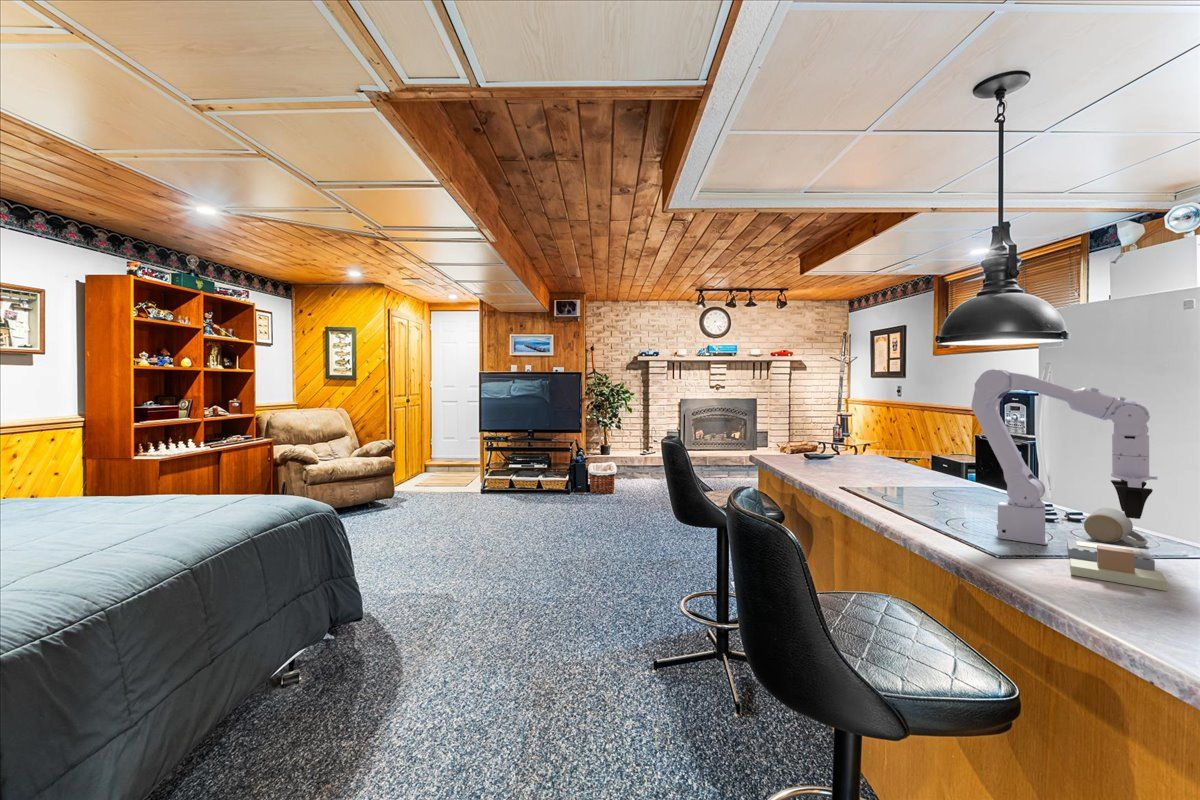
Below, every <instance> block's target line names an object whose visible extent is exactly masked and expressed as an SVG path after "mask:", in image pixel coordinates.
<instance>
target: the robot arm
mask: <svg viewBox="0 0 1200 800" xmlns="http://www.w3.org/2000/svg"><path fill="white" fill-rule="evenodd" d="M1011 391H1030V392H1033V393H1037V394H1040V395H1043V396H1046V397H1050V398H1053V399H1056V400H1059V401H1060V400H1061V401H1063V402H1067V404H1068V406H1069V408H1070V409H1071V410H1073V411H1076V412H1079V413H1082V414H1084V415H1087V416H1091V417H1094V418H1097V419H1100V420H1102V421H1107V420H1111V421H1112V423H1113V433H1112V435H1111V440H1112V441H1111V443H1112V444H1111V447H1112V449H1111V450H1112V453H1111V454H1112V456H1111V457H1112V459H1111V461H1112V463H1111V465H1112V466H1111V468H1112V471H1111V473H1110V476H1111V477H1112V478H1114V479H1111V480H1110V483H1111V484H1112V485H1113V487H1114V489H1115V491H1116V495H1117V497H1118V501H1119V502H1118V503H1119V505H1120V509H1121V512H1123V513H1124V514H1125V515H1126V518H1130V519H1135V520H1141V518H1142V515H1143V511H1144V509H1145V508H1144V507H1145V504H1146V501H1147V500H1148V498H1149V496H1150V495H1151V494H1152V493H1153V489H1152V488H1149V487H1148V488H1145V487H1146V485H1147V482H1146V481H1150V480H1155V481H1156V480H1158V476H1157V475H1153V474H1150V436H1149V434H1148V433H1149V426H1148V422H1149V421H1150V418H1151V415H1150V412H1149V409H1148V408H1147V406H1145V405H1142V404H1141V403H1138V402H1136V401H1130V400H1129V401H1126V400H1127V397H1124V396H1119V397H1117V396H1113V395H1111V394H1108V393H1104V392H1100V389H1099V388H1097V387H1093V386H1092V387H1091V388H1087V387H1082V388H1078V389H1071V388H1069V387H1065V386H1062V385H1059V384H1057V383H1053V382H1051V381H1047V380H1045V379H1041V378H1039V377H1036V376H1033V375H1030V374H1024V373H1020V372H1019V373H1018V372H1013V371H1012V372H1011V371H1008V370H1003V369H998V368H996V369H994V368H991V369H988V370H985V371H984V372H982V373H981V375H979V377H978V379H976V381H975V382H974V391H973V396H972V401H971V405H970V406H971V411H972V412H973V414H974V416H975V418H976V420H977V422H978V423H979V425H980V428H981V430H982V432H983V434H984V435H985V438H986V440H987V441H988V443H989V446H990V447H991V450H992V451H993V453H994V455H995V457H996V459H997V461H998V463H999V465H1000V467H1001V470H1002V472H1003V479H1004V481H1005V483H1006V486H1007V487H1006V494H1007V496H1008V498H1009V499H1008V500H1007V502H1005V501H1004V502H1003V501H999V502H998V503H997V523H996V531H997V538H998V539H1003V540H1009V541H1014V542H1015V541H1016V542H1022V543H1029V544H1036V545H1037V544H1038V545H1044V546H1047V545H1048V543H1049V542H1048V539H1049V538H1048V536H1046V504H1045V502H1043V501H1042V499H1041V498H1042V497H1043V496H1044V495H1045V493H1046V487H1045V485H1044V483H1043V482H1042V481H1041V479H1038V478H1037V477H1036V476H1035V475H1034V473H1033V472H1032V470H1031V469H1030V467H1028V465H1027V464H1026V462H1025V460H1024V459H1023V457H1022V455H1021V452H1020V451H1019V449H1018V447H1017V445H1016V443H1015V441H1014V439H1013V438H1012V436H1011V433H1010V431H1009V430H1008V428H1007V426H1006V424H1005V423H1004V420H1003V418H1002V417H1001V414H1000V413H999V411H998V409H997V408H998V406H999V404H1000V403H1001V401H1002V400H1003V397H1004V396H1006V395H1007V394H1008V393H1009V392H1011Z"/></svg>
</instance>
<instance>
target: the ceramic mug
mask: <svg viewBox="0 0 1200 800" xmlns="http://www.w3.org/2000/svg"><path fill="white" fill-rule="evenodd" d="M1133 528H1134V525H1133V522H1132V520H1131V518H1126V515H1125V513H1124V511H1122V510H1121V511H1120V510H1118V509H1116V508H1111V507H1102V508H1098V509H1096V510H1095V511H1093V512H1092V513H1090V514H1089V515H1088V516H1087V517H1086V518H1085V520H1084V523H1083V529H1084V531H1085V533H1086V534H1087V535H1088V536H1089V537H1090V538H1092V539H1093V540H1095V541H1097V542H1099V543H1105V544H1110V543H1116V542H1119V541H1120V540H1121V541H1122V542H1125V543H1127V544H1129V545H1131V546H1133V547H1134V546H1135V547H1136V548H1145V547H1146V546H1147V544H1148V542H1149V541H1148V539H1146V537H1145V536H1142V535H1141V534H1139V533H1138V532H1136V531H1134V530H1133Z"/></svg>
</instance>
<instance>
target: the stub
mask: <svg viewBox="0 0 1200 800" xmlns="http://www.w3.org/2000/svg"><path fill="white" fill-rule="evenodd" d="M1069 569H1070V575H1072V576H1077V577H1083V578H1089V579H1094V580H1101V581H1106V582H1113V583H1119V584H1123V585H1129V586H1130V585H1131V586H1134V587H1135V586H1136V587H1143V588H1148V589H1154V590H1160V591H1165V592H1168V579H1166V577H1165V575H1164V574H1163V572H1161V571H1156V570H1155V571H1154V570H1147V569H1140V568H1135V553H1134V551H1133V550H1130V549H1122V548H1115V547H1108V546H1100V545H1097V562H1095V561H1088V560H1081V559H1075V558H1069Z"/></svg>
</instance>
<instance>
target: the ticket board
mask: <svg viewBox="0 0 1200 800" xmlns="http://www.w3.org/2000/svg"><path fill="white" fill-rule="evenodd" d="M1097 545H1100V546H1108V547H1115V548H1122V549H1130V550H1133V551H1134V553H1135V568H1136V569H1143V570H1149V571H1156V567H1155V566H1156V562H1155V559H1154V558H1153V556H1152V554H1151V553H1150V552H1149V550H1148V549H1147V548H1141V547H1133V546H1131V547H1130V546H1123V545H1116V544H1110V543H1104V542H1094V541H1089V540H1088V541H1086V540H1079V539H1074V538H1073V539H1072V538H1067V539H1066V548H1067V555H1068V558H1069V559H1070V558H1071V559H1077V560H1084V561H1090V562H1097Z"/></svg>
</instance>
